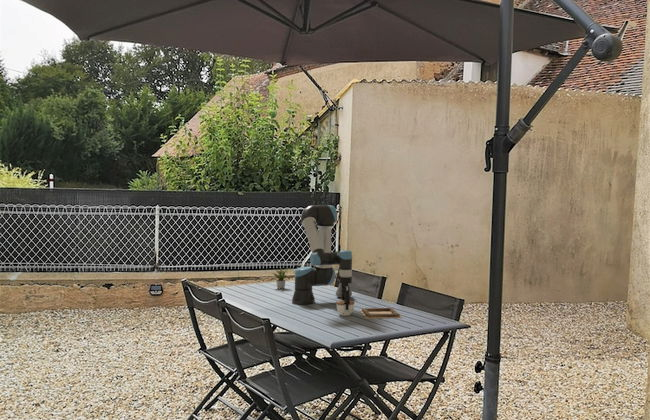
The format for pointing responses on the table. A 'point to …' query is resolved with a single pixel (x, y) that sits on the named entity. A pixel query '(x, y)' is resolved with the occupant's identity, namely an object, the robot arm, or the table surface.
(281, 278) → the house plant
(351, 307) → the lidded jar
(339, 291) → the coffee pot
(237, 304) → the table surface
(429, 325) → the table surface
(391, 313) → the wooden square tray
